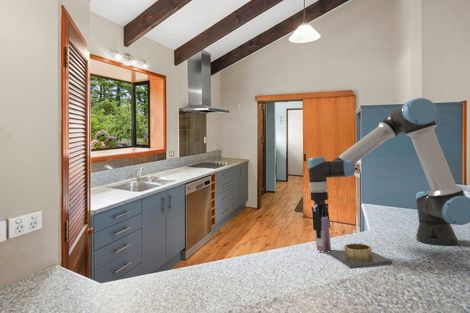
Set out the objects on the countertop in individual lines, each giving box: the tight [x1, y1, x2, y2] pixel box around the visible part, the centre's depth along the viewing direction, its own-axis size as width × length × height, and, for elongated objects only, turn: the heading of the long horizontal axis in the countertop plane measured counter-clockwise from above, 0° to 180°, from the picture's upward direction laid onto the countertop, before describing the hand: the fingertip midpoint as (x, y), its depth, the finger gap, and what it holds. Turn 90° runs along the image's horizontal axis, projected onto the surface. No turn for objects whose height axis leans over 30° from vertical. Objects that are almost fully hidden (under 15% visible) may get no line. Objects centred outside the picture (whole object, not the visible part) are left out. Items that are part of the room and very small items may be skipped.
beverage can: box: [314, 216, 332, 253], centre depth 115 cm, size 6×6×15 cm
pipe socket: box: [329, 243, 393, 269], centre depth 101 cm, size 16×16×5 cm
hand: (323, 243), depth 114 cm, fingers closed on beverage can, 6 cm apart
